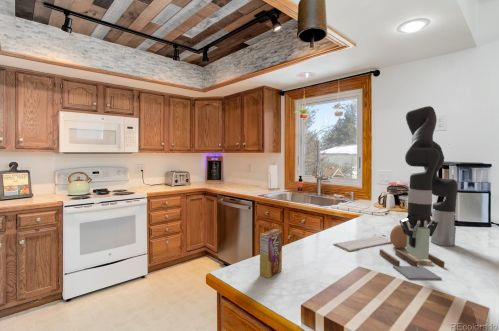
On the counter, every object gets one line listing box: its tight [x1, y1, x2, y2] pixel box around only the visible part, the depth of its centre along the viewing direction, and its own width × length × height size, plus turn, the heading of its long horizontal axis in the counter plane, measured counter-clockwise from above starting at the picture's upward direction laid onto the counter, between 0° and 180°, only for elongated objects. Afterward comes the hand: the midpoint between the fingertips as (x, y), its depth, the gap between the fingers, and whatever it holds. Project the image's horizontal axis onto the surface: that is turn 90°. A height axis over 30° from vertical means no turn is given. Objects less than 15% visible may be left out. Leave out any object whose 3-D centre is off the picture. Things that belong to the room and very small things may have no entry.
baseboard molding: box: [333, 234, 392, 252], centre depth 133 cm, size 31×3×12 cm
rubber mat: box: [392, 265, 443, 281], centre depth 99 cm, size 12×10×1 cm
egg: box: [389, 224, 407, 250], centre depth 126 cm, size 8×8×11 cm
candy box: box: [259, 228, 283, 279], centre depth 97 cm, size 9×4×15 cm, turn 140°
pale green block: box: [405, 222, 431, 259], centre depth 99 cm, size 3×8×11 cm, turn 2°
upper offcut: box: [405, 252, 433, 264], centre depth 112 cm, size 6×8×1 cm
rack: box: [379, 248, 445, 268], centre depth 112 cm, size 19×13×2 cm
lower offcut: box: [417, 263, 435, 266], centre depth 112 cm, size 7×9×1 cm
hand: (417, 246), depth 99 cm, fingers closed on pale green block, 3 cm apart
